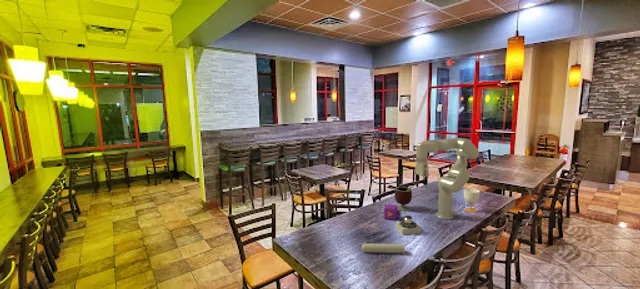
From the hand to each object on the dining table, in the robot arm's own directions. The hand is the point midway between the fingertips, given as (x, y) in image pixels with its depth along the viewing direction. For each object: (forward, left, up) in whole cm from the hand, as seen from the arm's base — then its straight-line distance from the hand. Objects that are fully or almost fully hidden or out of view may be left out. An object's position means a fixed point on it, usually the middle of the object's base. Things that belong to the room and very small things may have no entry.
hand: (421, 182), depth 202 cm
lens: (+16, +11, -26) cm, 33 cm away
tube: (+45, +33, -31) cm, 64 cm away
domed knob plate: (+16, +11, -30) cm, 36 cm away
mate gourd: (-2, -27, -31) cm, 41 cm away
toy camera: (+16, -12, -31) cm, 37 cm away
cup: (-52, -9, -31) cm, 61 cm away
